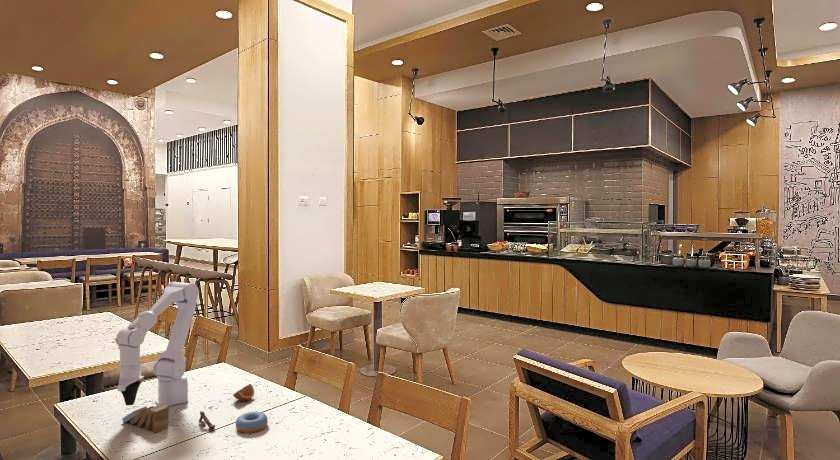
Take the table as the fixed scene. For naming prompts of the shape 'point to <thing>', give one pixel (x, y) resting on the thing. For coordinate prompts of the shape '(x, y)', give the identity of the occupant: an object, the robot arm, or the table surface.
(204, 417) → the dark angular frame
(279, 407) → the table surface
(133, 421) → the domino
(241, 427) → the doughnut
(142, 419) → the domino
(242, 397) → the fruit slice
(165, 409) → the domino
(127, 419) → the domino
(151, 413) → the domino
